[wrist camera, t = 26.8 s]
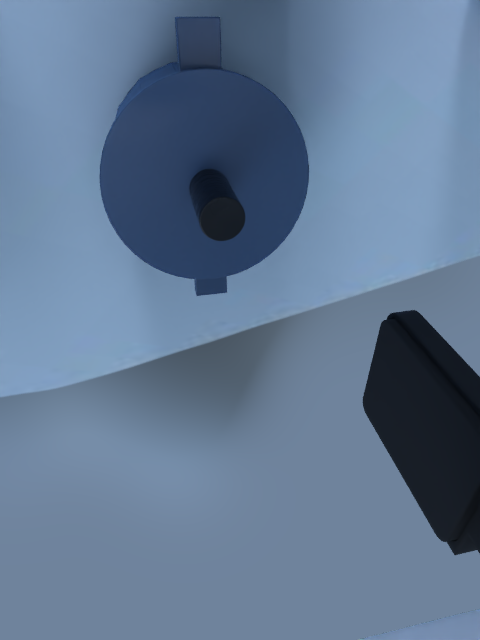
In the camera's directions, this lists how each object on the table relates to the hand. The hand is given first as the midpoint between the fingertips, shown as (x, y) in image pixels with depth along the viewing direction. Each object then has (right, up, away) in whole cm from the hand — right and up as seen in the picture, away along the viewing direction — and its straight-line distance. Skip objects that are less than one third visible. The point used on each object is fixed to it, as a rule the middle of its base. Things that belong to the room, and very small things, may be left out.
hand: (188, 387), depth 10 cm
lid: (-1, +10, +18) cm, 21 cm away
